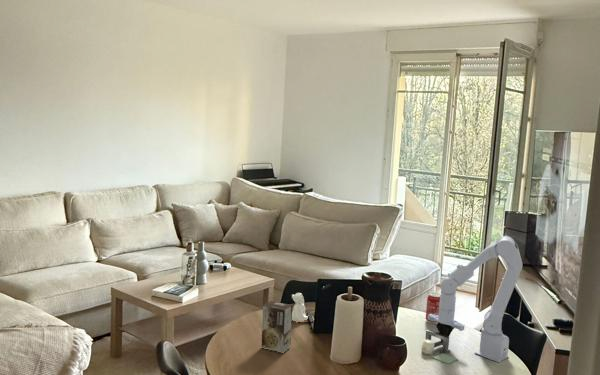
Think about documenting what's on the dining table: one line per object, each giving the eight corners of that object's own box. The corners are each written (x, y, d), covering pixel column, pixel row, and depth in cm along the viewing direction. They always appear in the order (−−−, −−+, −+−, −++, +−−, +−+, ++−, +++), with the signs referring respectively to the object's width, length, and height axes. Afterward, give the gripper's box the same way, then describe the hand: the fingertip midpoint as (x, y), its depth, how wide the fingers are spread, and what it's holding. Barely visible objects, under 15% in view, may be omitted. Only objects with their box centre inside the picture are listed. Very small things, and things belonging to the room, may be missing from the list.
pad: (457, 359, 197) (457, 358, 197) (448, 364, 193) (448, 363, 193) (442, 354, 201) (442, 353, 201) (433, 358, 197) (433, 357, 197)
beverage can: (439, 320, 237) (441, 293, 236) (441, 325, 231) (444, 297, 229) (424, 318, 238) (426, 291, 236) (426, 324, 231) (428, 296, 230)
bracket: (450, 351, 204) (451, 336, 203) (443, 354, 201) (444, 338, 200) (429, 343, 210) (430, 328, 210) (422, 346, 207) (423, 331, 206)
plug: (446, 349, 207) (447, 339, 206) (426, 355, 198) (428, 345, 198) (436, 345, 210) (437, 335, 209) (417, 351, 201) (418, 341, 201)
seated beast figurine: (315, 321, 227) (316, 293, 225) (300, 326, 221) (302, 297, 219) (298, 315, 233) (300, 288, 232) (284, 320, 227) (285, 291, 226)
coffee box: (291, 348, 199) (293, 304, 197) (283, 354, 193) (285, 310, 192) (268, 342, 203) (271, 300, 201) (260, 348, 197) (262, 305, 195)
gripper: (469, 311, 205) (466, 346, 206) (436, 301, 215) (433, 334, 217) (459, 315, 200) (456, 351, 202) (426, 304, 210) (423, 338, 212)
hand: (443, 343), depth 209 cm, fingers closed, pressing on plug
